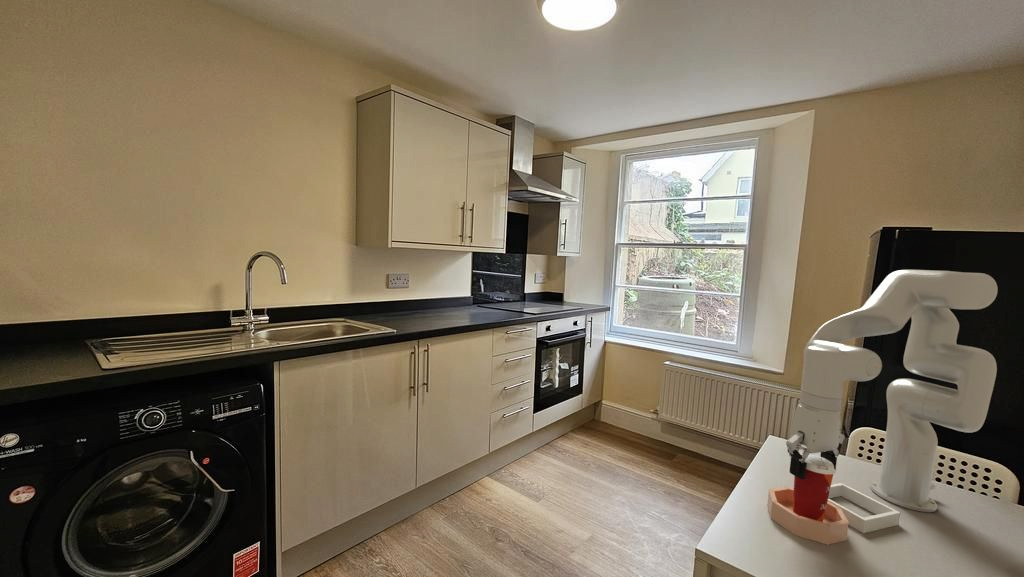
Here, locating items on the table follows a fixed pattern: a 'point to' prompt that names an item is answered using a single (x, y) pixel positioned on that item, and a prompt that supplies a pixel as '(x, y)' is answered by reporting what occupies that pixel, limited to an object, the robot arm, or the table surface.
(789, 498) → the dish
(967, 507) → the table surface
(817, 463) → the paper cup
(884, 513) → the parts tray
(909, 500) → the robot arm
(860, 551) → the table surface
